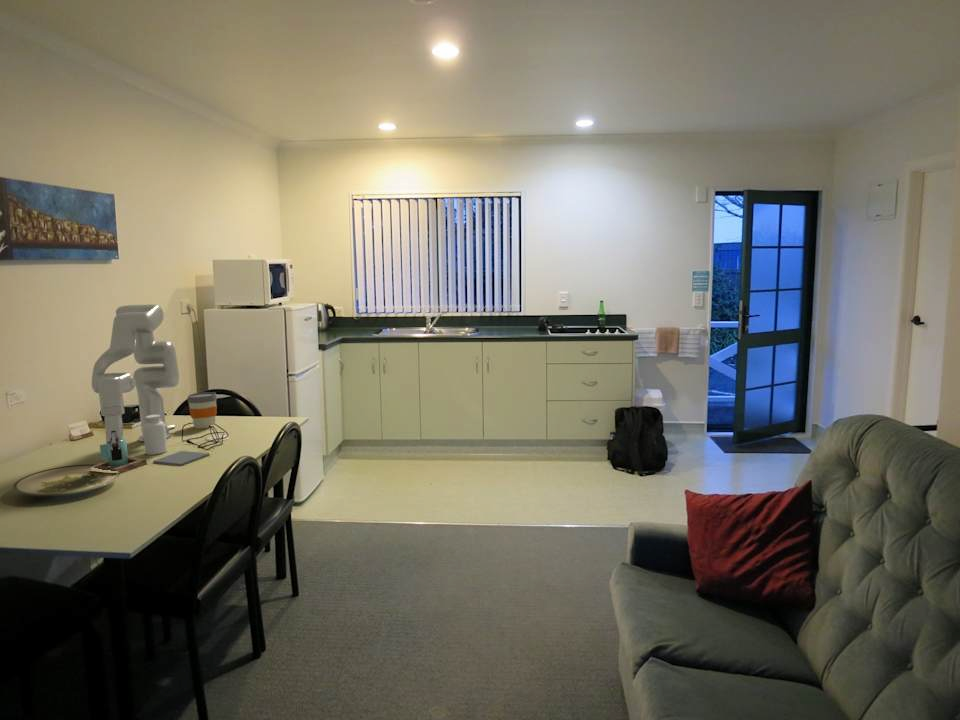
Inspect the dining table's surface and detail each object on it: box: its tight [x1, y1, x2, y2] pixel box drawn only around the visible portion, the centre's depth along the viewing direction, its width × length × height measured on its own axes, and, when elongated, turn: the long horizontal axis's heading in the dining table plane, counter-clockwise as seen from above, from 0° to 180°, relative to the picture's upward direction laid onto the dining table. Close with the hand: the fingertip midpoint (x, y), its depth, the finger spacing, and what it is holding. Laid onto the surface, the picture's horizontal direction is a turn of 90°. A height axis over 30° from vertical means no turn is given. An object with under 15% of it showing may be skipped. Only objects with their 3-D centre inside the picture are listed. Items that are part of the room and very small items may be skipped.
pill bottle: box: [143, 415, 168, 456], centre depth 258 cm, size 8×8×15 cm
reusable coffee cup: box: [187, 391, 218, 429], centre depth 301 cm, size 13×13×15 cm
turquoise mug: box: [99, 437, 129, 467], centre depth 238 cm, size 8×6×9 cm
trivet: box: [152, 450, 210, 467], centre depth 248 cm, size 14×14×1 cm
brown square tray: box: [93, 456, 148, 474], centre depth 239 cm, size 13×13×2 cm
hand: (118, 457), depth 239 cm, fingers closed on turquoise mug, 6 cm apart
